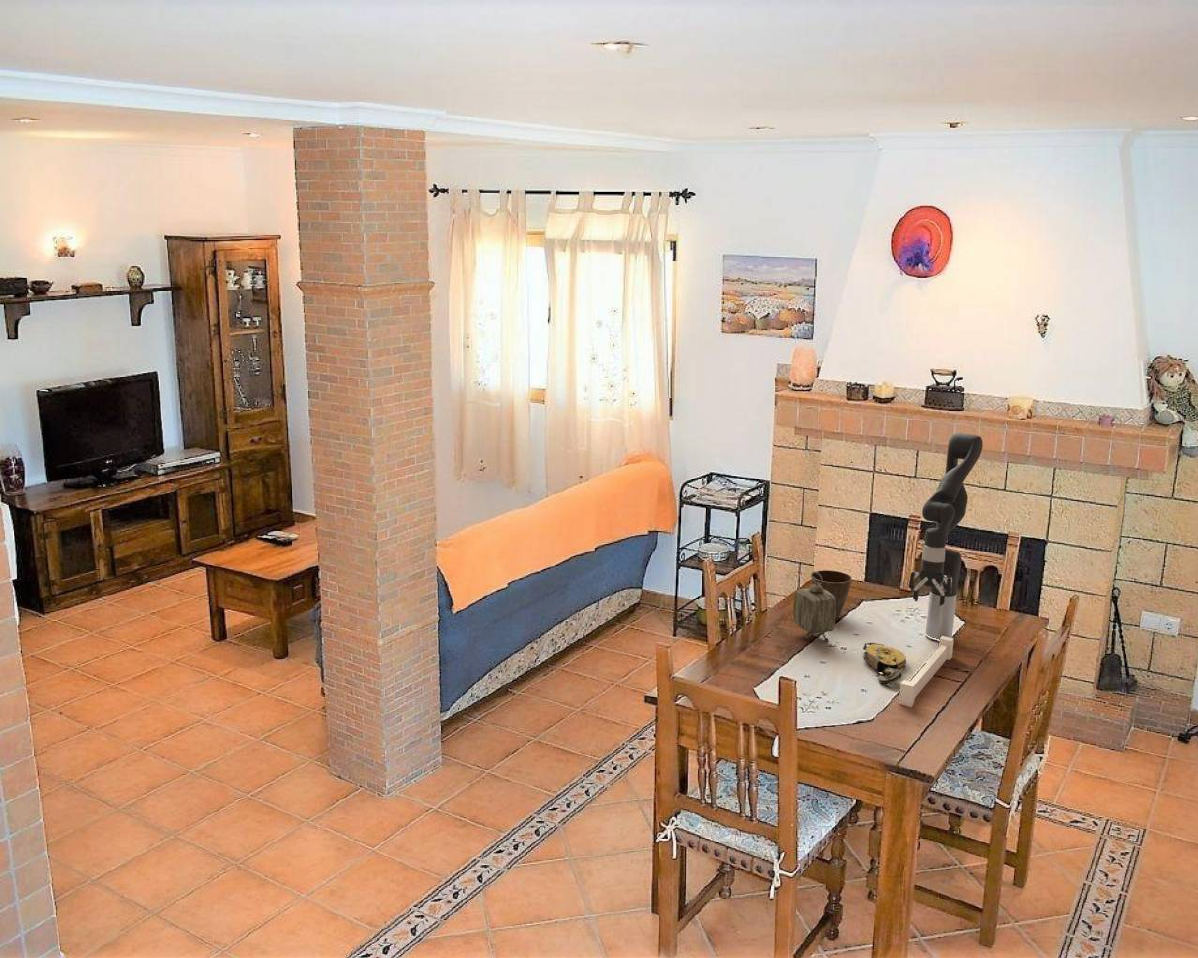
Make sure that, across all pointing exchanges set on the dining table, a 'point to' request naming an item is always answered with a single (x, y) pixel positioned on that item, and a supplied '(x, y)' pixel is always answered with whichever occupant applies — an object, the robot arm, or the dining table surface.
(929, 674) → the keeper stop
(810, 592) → the tabletop clock
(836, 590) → the plant pot
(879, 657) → the pulley block
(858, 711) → the dining table surface
